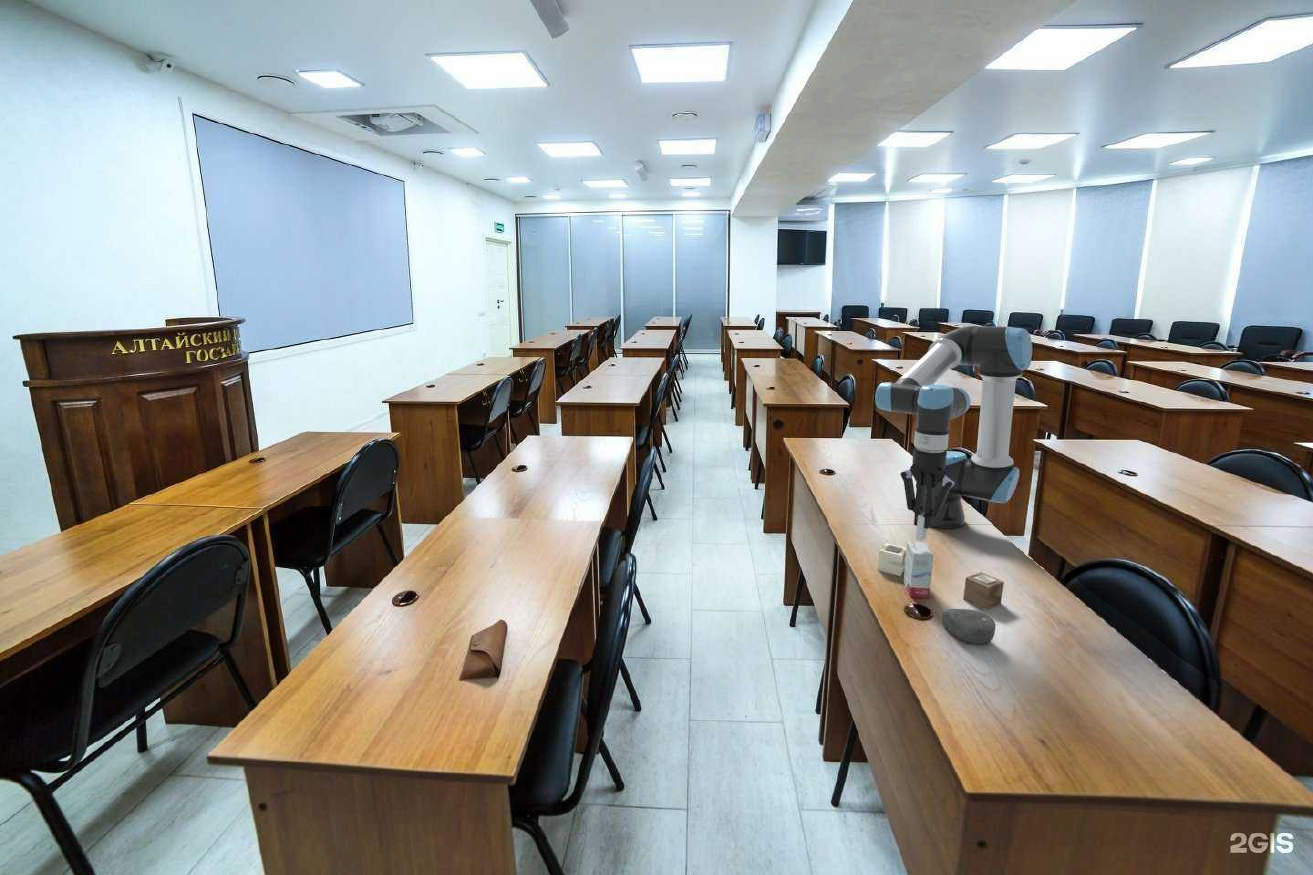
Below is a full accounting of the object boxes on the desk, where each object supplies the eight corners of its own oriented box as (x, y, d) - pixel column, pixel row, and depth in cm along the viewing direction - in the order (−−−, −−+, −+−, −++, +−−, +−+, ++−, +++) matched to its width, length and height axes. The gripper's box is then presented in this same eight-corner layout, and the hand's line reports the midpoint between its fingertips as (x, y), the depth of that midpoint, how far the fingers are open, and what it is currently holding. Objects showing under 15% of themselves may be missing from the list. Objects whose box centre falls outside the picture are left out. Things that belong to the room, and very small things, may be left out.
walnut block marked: (978, 593, 158) (981, 571, 156) (1000, 603, 152) (1004, 581, 151) (963, 599, 155) (965, 576, 153) (985, 609, 150) (988, 586, 148)
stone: (973, 620, 145) (988, 596, 138) (988, 655, 138) (1004, 631, 132) (935, 620, 145) (947, 596, 139) (948, 655, 139) (961, 632, 132)
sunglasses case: (470, 633, 142) (483, 609, 141) (498, 644, 144) (511, 621, 143) (458, 682, 125) (473, 655, 124) (490, 694, 126) (505, 667, 126)
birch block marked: (884, 562, 175) (886, 542, 174) (906, 568, 172) (908, 547, 170) (877, 570, 171) (879, 549, 169) (899, 576, 167) (901, 555, 166)
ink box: (929, 598, 155) (934, 555, 152) (909, 597, 156) (913, 554, 153) (922, 583, 163) (926, 541, 160) (903, 581, 164) (906, 540, 161)
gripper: (897, 446, 152) (889, 535, 158) (951, 457, 143) (940, 550, 149) (911, 441, 157) (902, 527, 163) (964, 451, 148) (953, 542, 154)
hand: (921, 538), depth 156 cm, fingers closed
